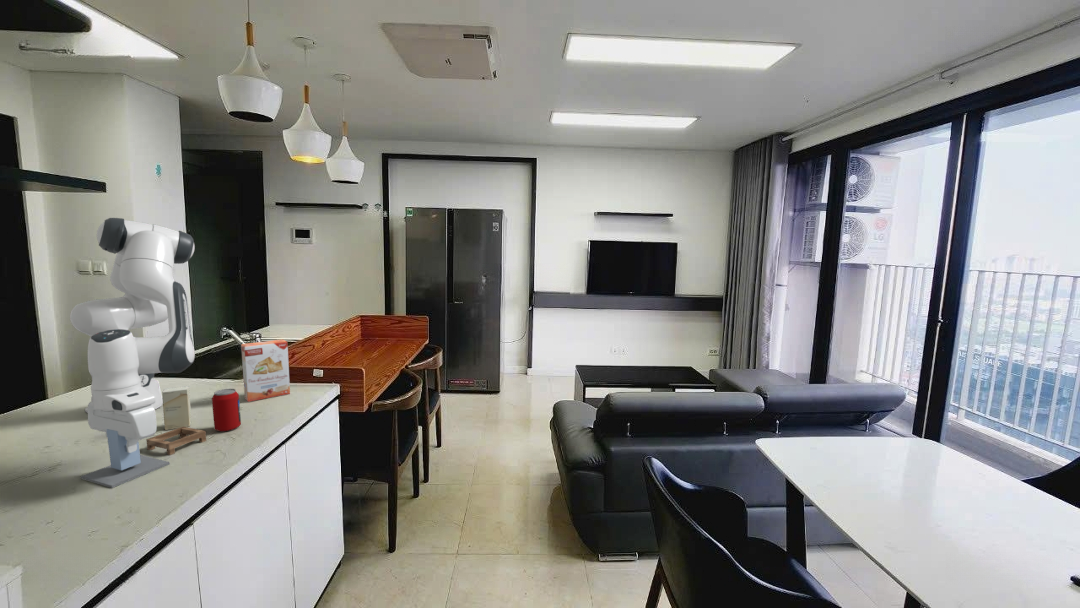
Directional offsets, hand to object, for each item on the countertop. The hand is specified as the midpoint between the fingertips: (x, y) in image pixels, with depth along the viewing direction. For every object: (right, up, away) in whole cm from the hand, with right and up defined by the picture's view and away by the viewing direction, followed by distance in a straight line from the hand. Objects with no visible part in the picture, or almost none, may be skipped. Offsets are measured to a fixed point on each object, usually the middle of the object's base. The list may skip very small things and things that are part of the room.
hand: (124, 449), depth 108 cm
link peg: (0, -4, +1) cm, 4 cm away
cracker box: (+1, +1, +56) cm, 56 cm away
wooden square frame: (+1, -4, +15) cm, 16 cm away
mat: (0, -6, +1) cm, 6 cm away
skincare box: (-10, -2, +28) cm, 30 cm away
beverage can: (+7, -3, +27) cm, 28 cm away
